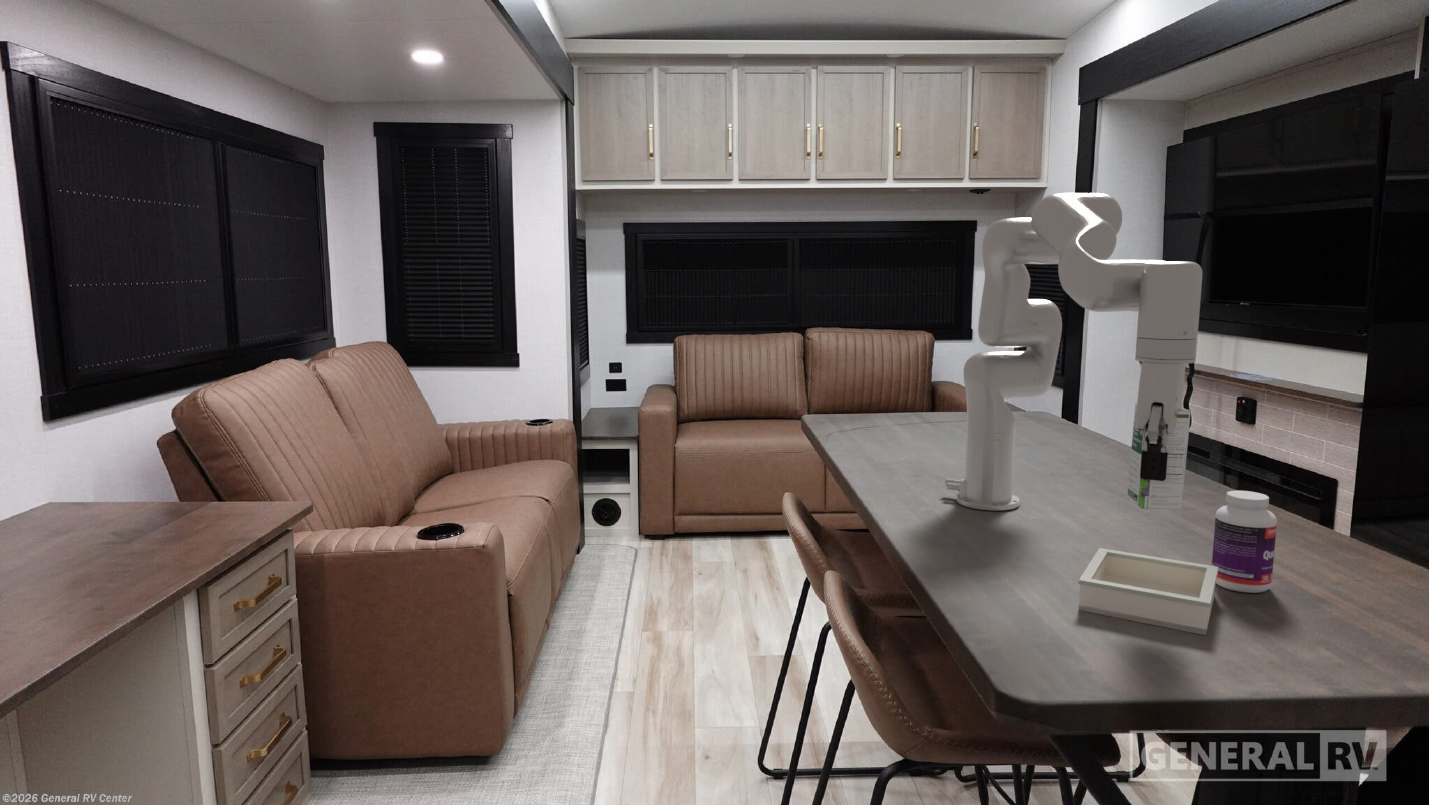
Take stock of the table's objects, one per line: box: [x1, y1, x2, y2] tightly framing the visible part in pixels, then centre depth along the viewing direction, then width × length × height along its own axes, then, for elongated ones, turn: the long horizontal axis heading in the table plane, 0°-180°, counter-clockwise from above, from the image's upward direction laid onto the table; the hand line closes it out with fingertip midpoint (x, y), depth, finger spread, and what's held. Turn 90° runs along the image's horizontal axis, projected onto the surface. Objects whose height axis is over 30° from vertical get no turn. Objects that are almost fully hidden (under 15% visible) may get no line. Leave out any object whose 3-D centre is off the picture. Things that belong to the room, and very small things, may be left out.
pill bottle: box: [1210, 490, 1278, 594], centre depth 131 cm, size 8×8×14 cm
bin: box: [1078, 547, 1218, 636], centre depth 126 cm, size 16×16×5 cm
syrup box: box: [1126, 402, 1191, 510], centre depth 123 cm, size 6×6×14 cm
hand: (1156, 472), depth 123 cm, fingers closed on syrup box, 7 cm apart
